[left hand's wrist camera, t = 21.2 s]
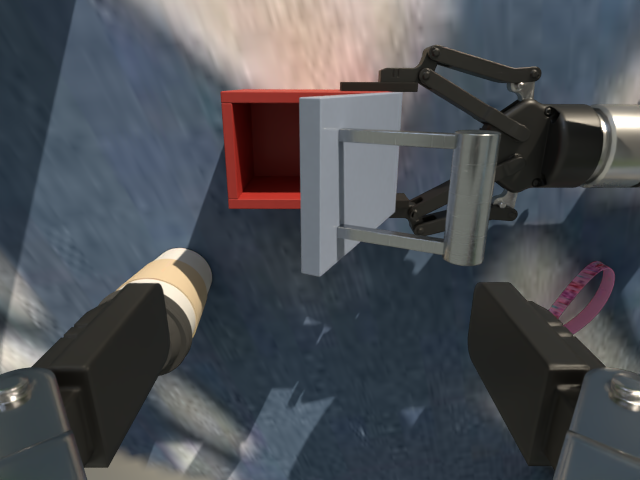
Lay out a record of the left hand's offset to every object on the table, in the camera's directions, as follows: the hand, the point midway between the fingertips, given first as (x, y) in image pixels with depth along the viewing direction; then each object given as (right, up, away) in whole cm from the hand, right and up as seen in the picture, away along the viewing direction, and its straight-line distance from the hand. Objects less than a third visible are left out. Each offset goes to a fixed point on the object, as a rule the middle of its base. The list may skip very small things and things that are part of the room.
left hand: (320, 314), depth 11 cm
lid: (+2, +7, +18) cm, 20 cm away
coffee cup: (-16, -2, +41) cm, 44 cm away
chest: (-1, +13, +35) cm, 37 cm away
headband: (+31, -5, +42) cm, 52 cm away
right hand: (+2, +11, +29) cm, 31 cm away
